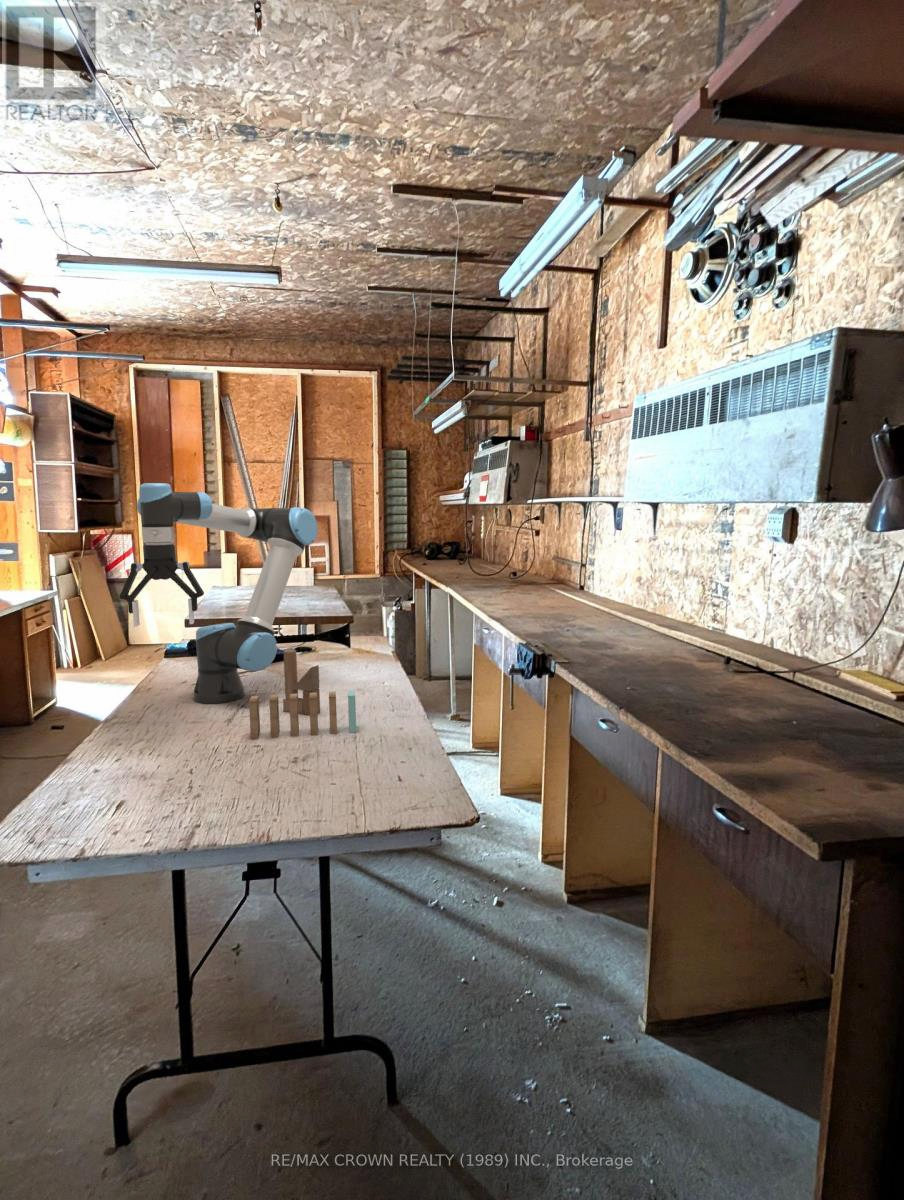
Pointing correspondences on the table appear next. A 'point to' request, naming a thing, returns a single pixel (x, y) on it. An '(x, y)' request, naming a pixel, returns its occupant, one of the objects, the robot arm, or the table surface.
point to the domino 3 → (294, 714)
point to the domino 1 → (254, 717)
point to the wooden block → (300, 683)
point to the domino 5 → (332, 712)
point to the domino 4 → (313, 714)
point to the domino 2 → (274, 716)
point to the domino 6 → (352, 711)
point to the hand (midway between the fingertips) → (164, 624)
